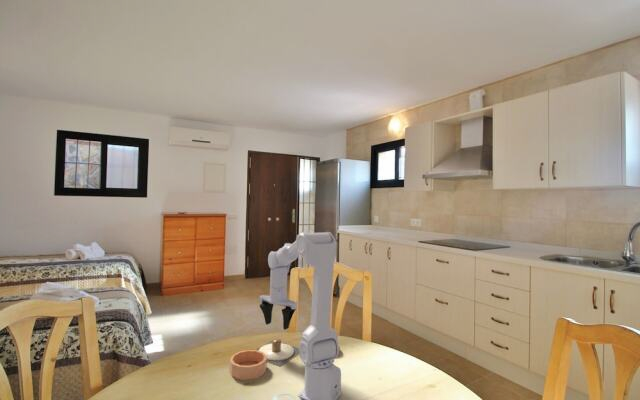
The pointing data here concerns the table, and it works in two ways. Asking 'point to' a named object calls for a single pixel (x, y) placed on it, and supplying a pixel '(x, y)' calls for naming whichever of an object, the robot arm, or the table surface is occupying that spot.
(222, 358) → the table surface
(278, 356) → the lid
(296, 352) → the mat
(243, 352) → the bowl
